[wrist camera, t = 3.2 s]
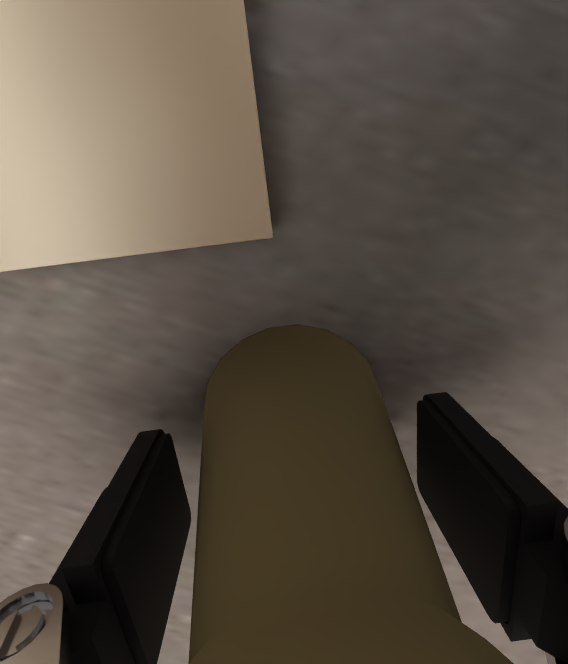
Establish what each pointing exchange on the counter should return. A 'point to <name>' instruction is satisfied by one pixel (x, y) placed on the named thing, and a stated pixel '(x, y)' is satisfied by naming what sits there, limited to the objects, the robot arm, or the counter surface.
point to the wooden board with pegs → (126, 130)
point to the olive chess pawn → (313, 519)
